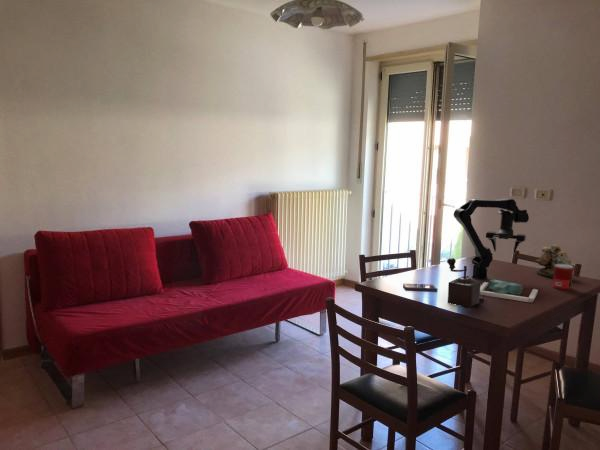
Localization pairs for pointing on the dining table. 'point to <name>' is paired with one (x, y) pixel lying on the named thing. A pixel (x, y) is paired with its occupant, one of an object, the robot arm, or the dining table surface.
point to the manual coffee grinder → (462, 288)
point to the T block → (505, 287)
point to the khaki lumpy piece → (551, 260)
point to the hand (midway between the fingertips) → (504, 252)
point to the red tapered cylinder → (562, 276)
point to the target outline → (506, 296)
